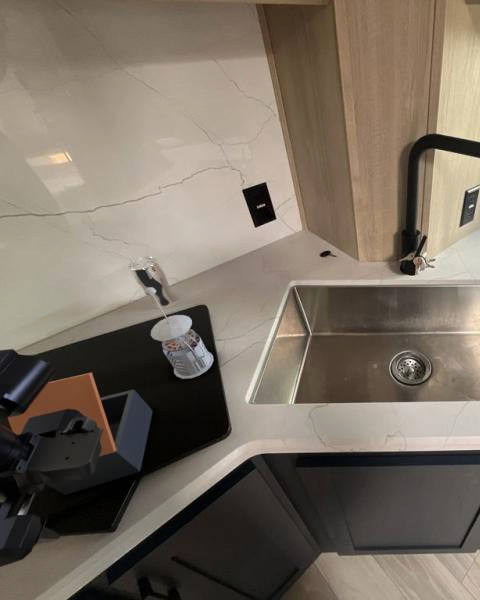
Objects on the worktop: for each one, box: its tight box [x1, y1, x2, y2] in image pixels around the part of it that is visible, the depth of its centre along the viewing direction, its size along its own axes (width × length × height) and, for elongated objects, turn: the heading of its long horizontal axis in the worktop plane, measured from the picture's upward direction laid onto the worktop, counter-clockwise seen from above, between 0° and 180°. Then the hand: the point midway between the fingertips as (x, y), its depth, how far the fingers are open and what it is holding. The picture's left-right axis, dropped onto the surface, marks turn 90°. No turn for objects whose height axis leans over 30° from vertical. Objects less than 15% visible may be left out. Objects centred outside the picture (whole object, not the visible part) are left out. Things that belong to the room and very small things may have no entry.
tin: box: [45, 389, 154, 496], centre depth 62 cm, size 14×12×9 cm
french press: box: [144, 287, 214, 380], centre depth 73 cm, size 10×12×25 cm
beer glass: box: [127, 256, 178, 310], centre depth 93 cm, size 7×7×15 cm
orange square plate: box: [7, 372, 116, 456], centre depth 53 cm, size 14×12×1 cm
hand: (68, 502), depth 47 cm, fingers open, 9 cm apart
